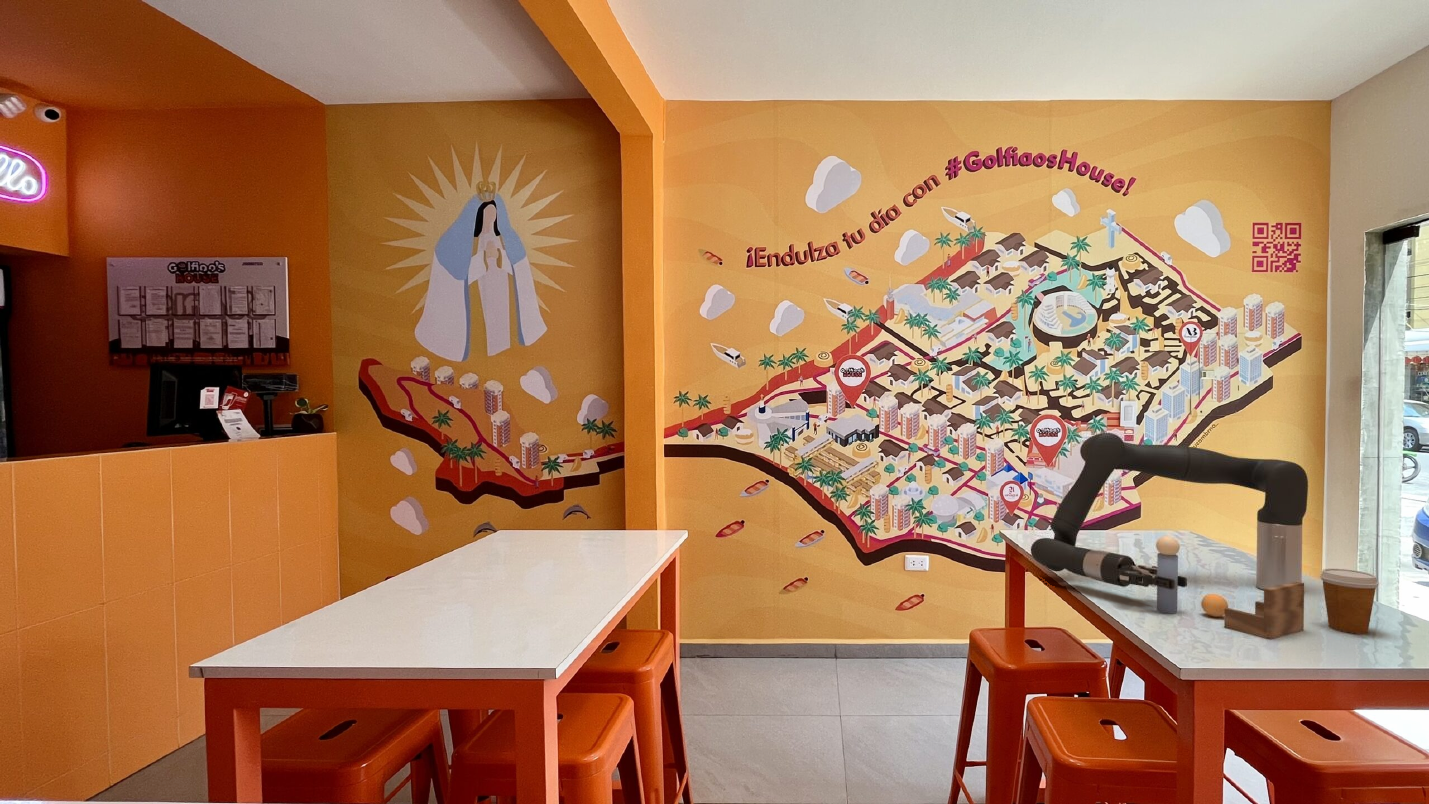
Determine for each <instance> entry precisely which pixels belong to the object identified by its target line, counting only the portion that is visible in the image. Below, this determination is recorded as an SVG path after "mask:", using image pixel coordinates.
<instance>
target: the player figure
mask: <svg viewBox="0 0 1429 804" xmlns="http://www.w3.org/2000/svg"><path fill="white" fill-rule="evenodd" d="M1155 548H1156V550H1157V552H1158V553H1157V557H1156V558H1157V559H1156V560H1157V562H1156V563H1157V565H1156V567H1157V576H1160V577H1164V578H1169V579H1173V580H1174V581H1175V588H1174V589H1167V588H1163V587H1158V586H1157V585H1156V611H1157V612H1159V613H1163V614H1166V613H1168V615H1177V614H1178V593H1179V591H1178V587H1179V586H1178V576H1179V555H1177V554H1178V553H1179V551H1180V543H1179V541H1178V540H1177V539H1176V538H1175V537H1173V536H1171V535H1164V536H1161V537H1159V538H1158V539H1157V541H1156V543H1155ZM1176 613H1177V614H1176Z"/></svg>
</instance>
